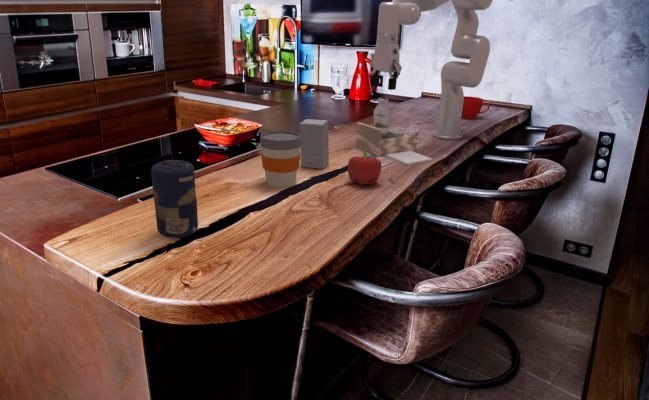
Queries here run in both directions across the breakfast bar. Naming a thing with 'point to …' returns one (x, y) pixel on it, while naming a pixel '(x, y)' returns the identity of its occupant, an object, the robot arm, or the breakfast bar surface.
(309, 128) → the skincare box
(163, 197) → the canister
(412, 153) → the pad
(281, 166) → the reusable coffee cup
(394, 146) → the frame
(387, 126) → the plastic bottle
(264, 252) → the breakfast bar surface
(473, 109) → the ceramic cup
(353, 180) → the vegetable
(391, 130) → the offcut top
